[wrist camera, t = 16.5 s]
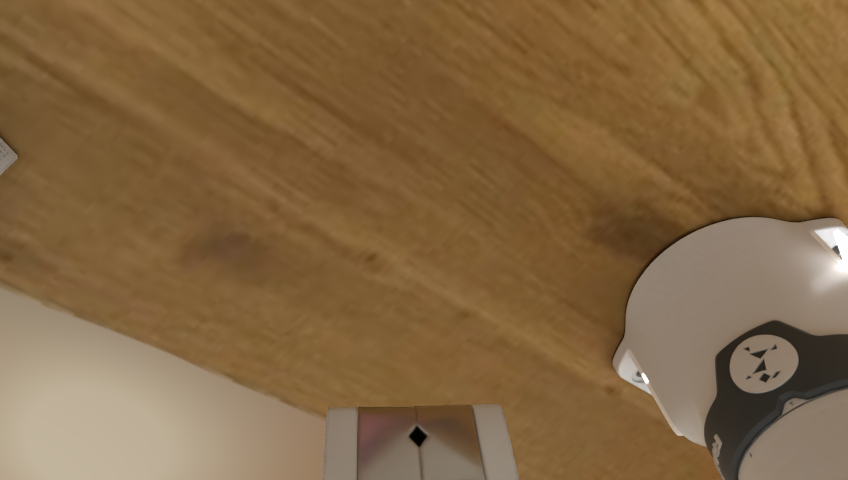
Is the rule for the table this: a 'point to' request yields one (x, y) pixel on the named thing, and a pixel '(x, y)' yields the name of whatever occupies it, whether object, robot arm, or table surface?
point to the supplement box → (6, 156)
